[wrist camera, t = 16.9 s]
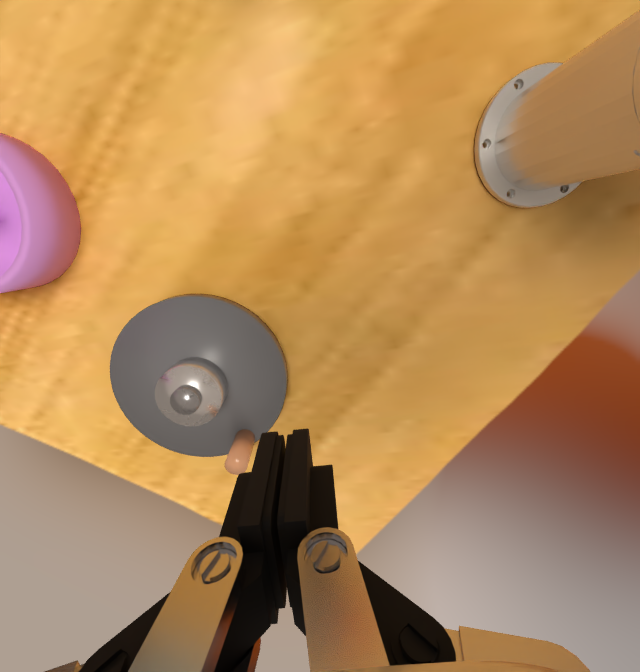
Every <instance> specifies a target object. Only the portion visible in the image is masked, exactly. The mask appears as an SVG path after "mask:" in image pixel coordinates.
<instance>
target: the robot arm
mask: <svg viewBox="0 0 640 672" xmlns="http://www.w3.org/2000/svg"><path fill="white" fill-rule="evenodd" d="M514 86H515V88H514ZM482 144H484V148H483V146H482ZM474 153H475V163H476V167H477V171H478V174H479V177H480V179H481V180H482V182H483V184H484V186H485V187H486V188H487V190H488V191H489V192H490V193H491V194H492V195H493V196H494V197H495V198H497V199H498V200H499V201H501V202H503V203H505V204H507V205H510V206H514V207H519V208H532V207H539V206H544V205H547V204H550V203H553V202H555V201H557V200H559V199H561V198H563V197H565V196H566V195H568V194H569V193H571V192H572V191H573V190H575V189H576V188H577V187H578V186H579V185H580V184H581V183H582V182H583V181H586V180H591V179H596V178H600V177H605V176H610V175H615V174H619V173H624V172H629V171H633V170H638V169H640V10H639V11H637V12H636V13H635V14H633V15H632V16H630V17H629V18H627V19H626V20H625V21H623V22H622V23H620V24H619V25H617V26H616V27H615V28H613V29H612V30H610V31H609V32H607V33H606V34H605V35H603V36H602V37H600V38H599V39H597V40H596V41H595V42H593V43H592V44H590V45H589V46H587V47H586V48H584V49H583V50H582V51H580V52H579V53H577V54H576V55H574V56H573V57H572V58H570V59H569V60H567V61H566V62H564V63H544V64H540V65H536V66H533V67H531V68H529V69H526V70H524V71H522V72H521V73H519V74H518V75H517V76H515V77H514V78H512V79H511V80H510V81H508V82H507V83H506V84H505V85H504V86H503V87H501V89H500V90H499V91H498V92H497V93H496V94H495V95H494V97H493V98H492V99H491V101H490V102H489V104H488V105H487V107H486V109H485V110H484V113H483V115H482V117H481V120H480V122H479V125H478V129H477V133H476V137H475V148H474ZM507 193H508V196H507ZM287 590H288V596H289V602H290V607H292V610H293V616H294V622H295V625H296V626H297V627H298V628H299V629H300V630H301V631H302V632H303V634H304V635H305V636H306V638H307V647H308V655H309V664H310V672H590V670H589V669H588V668H587V667H586V666H585V665H584V664H583V663H582V662H581V661H580V660H579V658H578V657H577V656H575V655H574V654H573V653H571V652H570V651H568V650H567V649H565V648H564V647H562V646H560V645H557V644H554V643H551V642H548V641H543V640H537V639H532V638H526V637H520V636H514V635H509V634H503V633H497V632H492V631H486V630H479V629H474V628H469V627H463V626H459V631H456V630H450V629H444V627H443V626H442V625H441V624H439V622H437V621H436V620H435V619H434V618H433V617H432V616H430V615H429V614H428V613H426V612H425V611H424V610H422V609H421V608H420V607H419V606H417V605H416V604H415V603H413V602H412V601H411V600H409V599H408V598H407V597H405V596H404V595H403V594H401V593H400V592H399V591H397V590H396V589H394V588H393V587H392V586H391V585H389V584H388V583H387V582H385V581H384V580H383V579H381V578H380V577H379V576H378V575H376V574H375V573H373V572H372V571H371V570H370V569H368V568H367V567H366V566H364V565H363V564H362V563H360V562H359V561H358V560H357V557H356V553H355V550H354V547H353V544H352V542H351V540H350V538H349V537H348V536H347V535H346V534H345V533H344V532H342V531H340V530H338V521H337V510H336V499H335V488H334V477H333V467H332V465H324V466H313V462H312V454H311V445H310V436H309V429H299V430H293V434H290V435H288V436H287V443H286V448H285V440H284V436H283V435H278V432H267V433H262V434H261V437H260V441H259V445H258V449H257V453H256V457H255V460H254V464H253V468H252V472H248V473H240V474H239V476H238V478H237V481H236V484H235V488H234V491H233V494H232V497H231V500H230V504H229V507H228V510H227V513H226V516H225V520H224V523H223V526H222V529H221V532H220V536H219V537H218V538H215V539H212V540H209V541H207V542H205V543H204V544H203V545H201V546H200V547H198V548H197V549H196V550H195V551H194V552H193V554H192V555H191V556H190V558H189V559H188V561H187V563H186V564H185V567H184V568H183V570H182V572H181V574H180V576H179V577H178V579H177V581H176V583H175V585H174V587H173V589H172V590H171V592H170V593H169V594H167V595H166V596H165V597H163V598H162V599H161V600H160V601H158V602H157V603H156V604H155V605H153V606H152V607H151V608H150V609H149V610H147V611H146V612H145V613H143V614H142V615H141V616H140V617H138V618H137V619H136V620H135V621H133V622H132V623H131V624H130V625H128V626H127V627H126V628H125V629H123V630H122V631H121V632H120V633H118V634H117V635H116V636H115V637H114V638H112V639H111V640H110V641H109V642H107V643H106V644H105V645H104V646H102V647H101V648H100V649H99V650H98V651H97V652H96V653H94V654H93V655H92V656H91V657H90V658H89V659H88V660H87V661H86V663H85V664H82V665H80V664H79V662H78V661H74V662H71V663H68V664H65V665H62V666H59V667H57V668H53V669H51V670H48V671H45V672H255V668H256V664H257V660H258V656H259V652H260V644H261V638H260V637H261V636H262V635H263V634H264V633H265V632H266V630H267V629H268V628H269V627H270V625H271V624H276V623H277V621H278V610H279V608H285V605H286V592H287Z"/></svg>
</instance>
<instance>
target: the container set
mask: <svg viewBox="0 0 640 672" xmlns="http://www.w3.org/2000/svg"><path fill="white" fill-rule="evenodd" d="M80 236H81V224H80V216H79V211H78V208H77V205H76V201H75V198H74V196H73V194H72V192H71V190H70V188H69V186H68V184H67V183H66V181H65V180H64V178H63V177H62V176H61V174H60V173H59V171H58V170H57V169H56V168H55V167H54V166H53V165H52V164H51V163H50V162H49V161H48V160H47V159H46V158H45V157H44V156H43V155H42V154H40V153H39V152H38V151H36V150H35V149H34V148H32V147H31V146H29V145H27V144H26V143H24V142H22V141H20V140H18V139H16V138H13V137H10V136H8V135H5V134H2V133H0V293H4V292H10V291H15V290H21V289H27V288H32V287H38V286H41V285H44V284H47V283H50V282H52V281H53V280H55V279H57V278H58V277H60V276H61V275H62V274H63V273H64V272H65V271H66V270H67V269H68V268H69V267H70V265H71V264H72V262H73V260H74V258H75V257H76V254H77V251H78V248H79V244H80Z"/></svg>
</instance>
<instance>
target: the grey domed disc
mask: <svg viewBox="0 0 640 672" xmlns="http://www.w3.org/2000/svg"><path fill="white" fill-rule="evenodd" d="M189 357H200V358H204V359H207V360H210V361H212V362H213V363H215V364H216V365H217V366H218V367H219V368H220V369H221V370H222V371H223V373H224V374H225V376H226V378H227V382H228V393H227V396H226V398H225V400H224V402H223V404H222V406H221V408H220V409H219V411H218V413H217V414H216V416H215V417H214V418H213V419H212V420H210V421H209V422H207V423H205V424H203V425H199V426H183V425H180V424H177V423H175V422H173V421H171V420H169V419H168V418H167V417H166V416H164V414H163V413H162V412H161V411H160V409H159V408H158V406H157V403H156V400H155V387H156V384H157V382H158V380H159V379H160V378H161V376H162V375H163V374H165V373H166V372H167V371H168V370H169V369H170V368H171V367H172V366H173V365H174V364H176V363H177V362H178V361H180V360H182V359H185V358H189ZM110 379H111V384H112V389H113V392H114V395H115V398H116V400H117V402H118V404H119V406H120V408H121V410H122V411H123V413H124V414H125V416H126V417H127V418H128V420H129V421H130V422H131V423H132V424H133V426H134V427H136V428H137V429H138V430H139V431H140V432H141V433H142V434H143V435H145V436H146V437H147V438H149V439H150V440H152V441H153V442H155V443H157V444H158V445H160V446H162V447H165V448H167V449H169V450H172V451H175V452H178V453H181V454H186V455H190V456H199V457H214V456H222V455H227V454H228V456H227V459H226V461H225V468H226V470H227V471H228V472H230V473H231V474H235V475H238V474H240V473H244V472H245V471H246V469H247V466H248V463H249V459H250V456H251V452H252V449H253V445H254V443H255V442H256V441H258V440H259V439H260V437H261V434H262V433H267V432H268V431H269V429H270V428H271V427H272V426H273V424H274V423H275V421H276V420H277V418H278V416H279V414H280V412H281V409H282V407H283V403H284V399H285V394H286V388H287V367H286V361H285V358H284V354H283V351H282V349H281V347H280V345H279V342H278V341H277V339H276V337H275V336H274V334H273V333H272V331H271V330H270V329H269V328H268V326H267V325H266V324H265V323H264V322H263V321H262V320H261V319H260V318H259V317H258V316H256V315H255V314H254V313H252V312H251V311H250V310H248V309H247V308H245V307H243V306H241V305H239V304H238V303H235V302H233V301H230V300H228V299H225V298H222V297H218V296H214V295H206V294H186V295H179V296H175V297H171V298H168V299H165V300H163V301H160V302H158V303H156V304H153V305H151V306H149V307H147V308H146V309H144V310H142V311H141V312H139V313H138V314H137V315H136V316H134V317H133V318H132V319H131V320H130V321H129V322H128V323H127V324H126V325H125V327H124V328H123V329H122V331H121V333H120V334H119V336H118V338H117V340H116V342H115V344H114V347H113V351H112V354H111V361H110Z"/></svg>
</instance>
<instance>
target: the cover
mask: <svg viewBox="0 0 640 672" xmlns="http://www.w3.org/2000/svg"><path fill="white" fill-rule="evenodd" d="M227 393H228V382H227V378H226V376H225V374H224V373H223V371H222V370H221V369H220V368H219V367H218V366H217V365H216V364H215V363H213V362H212V361H210V360H207V359H204V358H200V357H189V358H185V359H182V360H180V361H178V362H177V363H176V364H174V365H173V366H172V367H171V368H170V369H169V370H168V371H167V372H166V373H165V374H163V375H162V376H161V378H160V379H159V380H158V382H157V384H156V387H155V400H156V403H157V406H158V408H159V409H160V411H161V412H162V413H163V414H164V416H166V417H167V418H168V419H169V420H171V421H173V422H175V423H177V424H180V425H183V426H199V425H203V424H205V423H207V422H209V421H210V420H212V419H213V418H214V417H215V416H216V414H217V413H218V411H219V409H220V408H221V406H222V404H223V402H224V400H225V398H226V396H227Z"/></svg>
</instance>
